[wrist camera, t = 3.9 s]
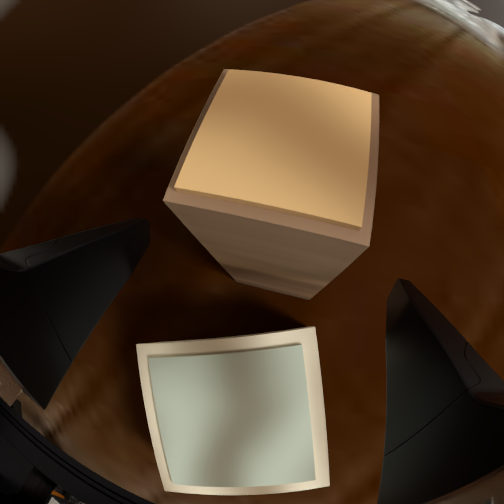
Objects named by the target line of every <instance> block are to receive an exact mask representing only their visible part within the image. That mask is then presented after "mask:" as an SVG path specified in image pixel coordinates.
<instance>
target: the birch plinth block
mask: <svg viewBox="0 0 504 504" xmlns="http://www.w3.org/2000/svg"><path fill="white" fill-rule="evenodd" d="M136 347H137V356H138V365H139V372H140V379H141V386H142V393H143V399H144V405H145V410H146V416H147V421H148V426H149V431H150V435H151V440H152V444H153V448H154V453H155V457H156V461H157V465H158V468H159V472H160V476H161V479H162V483H163V486H164V490H165V491H172V492H181V493H192V494H207V495H257V494H272V493H284V492H293V491H301V490H308V489H314V488H320V487H326V486H330V483H329V464H328V448H327V434H326V422H325V410H324V400H323V390H322V380H321V371H320V362H319V354H318V346H317V338H316V331H315V327H302V328H295V329H288V330H281V331H274V332H266V333H258V334H250V335H241V336H232V337H222V338H210V339H198V340H184V341H167V342H155V343H143V344H136Z"/></svg>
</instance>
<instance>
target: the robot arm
mask: <svg viewBox="0 0 504 504" xmlns="http://www.w3.org/2000/svg"><path fill="white" fill-rule="evenodd" d="M149 244H150V228H149V221H148V220H147V219H143V218H134V219H130V220H126V221H122V222H117V223H113V224H109V225H105V226H102V227H98V228H94V229H90V230H86V231H83V232H79V233H75V234H72V235H68V236H64V237H61V238H59V239H58V238H57V239H54V240H50V241H47V242H43V243H40V244H36V245H32V246H28V247H25V248H21V249H17V250H13V251H9V252H5V253H1V254H0V504H154V503H152V502H150V501H148V500H145V499H143V498H141V497H139V496H137V495H135V494H133V493H131V492H129V491H127V490H125V489H123V488H121V487H119V486H117V485H115V484H114V483H112V482H110V481H108V480H107V479H105V478H103V477H101V476H100V475H98V474H96V473H95V472H93V471H91V470H90V469H88V468H87V467H85V466H84V465H82V464H81V463H79V462H78V461H76V460H75V459H73V458H72V457H70V456H69V455H67V454H66V453H65V452H63V451H62V450H61V449H59V448H58V447H57V446H55V445H54V444H53V443H51V442H50V441H49V440H48V439H46V438H45V437H44V436H43V435H41V434H40V433H39V432H38V431H37V430H35V429H34V428H33V427H32V426H31V425H30V424H29V423H27V422H26V421H25V420H24V419H23V418H22V412H21V403H20V402H19V401H18V400H17V398H18V396H19V395H20V394H21V392H23V393H25V394H26V395H27V396H28V397H29V398H30V399H31V400H33V401H34V402H35V403H36V404H37V405H39V406H40V407H41V408H42V409H44V410H45V408H46V407H47V405H48V404H49V402H50V400H51V398H52V396H53V395H54V393H55V391H56V389H57V387H58V386H59V384H60V382H61V380H62V379H63V377H64V375H65V374H66V372H67V370H68V369H69V367H70V365H71V364H72V363H71V362H73V360H74V359H75V357H76V355H77V354H78V352H79V350H80V349H81V347H82V346H83V344H84V343H85V341H86V339H87V338H88V336H89V335H90V333H91V332H92V330H93V329H94V327H95V326H96V324H97V323H98V321H99V320H100V318H101V317H102V315H103V314H104V312H105V311H106V310H107V308H108V307H109V305H110V304H111V302H112V301H113V299H114V298H115V297H116V295H117V294H118V292H119V291H120V290H121V288H122V287H123V285H124V284H125V283H126V281H127V280H128V279H129V277H130V276H131V274H132V273H133V271H134V269H135V268H136V266H137V264H138V263H139V261H140V259H141V258H142V256H143V254H144V253H145V251H146V249H147V248H148V246H149ZM386 366H387V409H386V432H385V446H384V458H383V466H382V475H381V482H380V489H379V496H378V502H377V504H504V381H503V380H502V379H501V378H500V377H499V376H498V375H497V373H496V372H495V371H494V370H493V369H492V368H491V367H490V366H489V365H488V364H487V363H486V362H485V361H484V360H483V358H482V357H481V356H480V355H479V354H478V353H477V352H476V351H475V350H474V348H473V347H472V346H471V345H470V344H469V343H468V342H466V339H465V338H464V337H463V336H462V335H461V334H460V333H459V332H458V331H457V329H456V328H455V327H454V326H453V325H452V324H451V323H450V322H449V321H448V320H447V319H446V318H445V317H444V316H443V314H442V313H441V312H440V311H439V310H438V309H437V308H436V307H435V306H434V305H433V304H432V303H431V302H430V301H429V300H428V299H427V298H426V297H425V296H424V295H423V294H422V293H421V292H420V291H419V290H418V289H417V288H416V287H415V286H414V285H413V284H412V283H411V282H410V281H408V280H404V279H398V280H397V281H396V283H395V285H394V287H393V289H392V291H391V293H390V295H389V297H388V301H387V320H386ZM52 491H55V492H57V493H59V494H61V495H63V496H64V499H63V498H61V497H58V496H56V495H53V494H51V493H52Z"/></svg>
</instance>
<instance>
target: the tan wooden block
mask: <svg viewBox="0 0 504 504" xmlns="http://www.w3.org/2000/svg"><path fill="white" fill-rule="evenodd" d="M378 146H379V95H377V94H374V93H370V92H367V91H363V90H359V89H355V88H351V87H347V86H343V85H339V84H334V83H330V82H325V81H320V80H314V79H309V78H303V77H297V76H290V75H283V74H276V73H267V72H257V71H246V70H231V69H224V70H223V72H222V74H221V76H220V78H219V79H218V81H217V83H216V85H215V87H214V89H213V91H212V93H211V95H210V96H209V98H208V100H207V102H206V104H205V106H204V108H203V110H202V112H201V114H200V116H199V118H198V120H197V123H196V125H195V127H194V129H193V131H192V133H191V135H190V137H189V140H188V142H187V144H186V146H185V148H184V151H183V153H182V155H181V157H180V160H179V162H178V164H177V167H176V169H175V171H174V174H173V176H172V179H171V181H170V184H169V186H168V189H167V191H166V194H165V196H164V199H163V201H164V203H165V204H166V205H167V206H168V207H169V208H170V209H171V210H172V212H173V213H174V214H175V215H176V216H177V217H178V218H179V219H180V221H181V222H182V223H183V224H184V225H185V226H186V227H187V228H188V229H189V231H190V232H191V233H192V234H193V235H194V236H195V237H196V238H197V239H198V240H199V242H200V243H201V244H202V245H203V246H204V247H205V248H206V249H207V250H208V251H209V253H210V254H211V255H212V256H213V257H214V258H215V259H216V260H217V261H218V262H219V263H220V264H221V266H222V267H223V268H224V269H225V270H226V271H227V272H228V273H229V274H230V275H231V276H232V277H233V278H234V279H235V281H236V282H239V283H243V284H247V285H251V286H255V287H258V288H262V289H266V290H270V291H275V292H279V293H283V294H287V295H291V296H295V297H299V298H303V299H308V300H310V299H311V298H312V297H313V296H314V295H316V294H317V293H318V292H319V291H320V290H321V289H323V288H324V287H325V286H326V285H327V284H328V283H329V282H331V281H332V280H333V279H334V278H335V277H336V276H337V275H339V274H340V273H341V272H342V271H343V270H344V269H345V268H346V267H347V266H349V265H350V264H351V263H352V262H353V261H354V260H355V259H356V258H357V257H358V256H359V255H361V254H362V253H363V252H364V251H365V250H366V249H367V248H368V247H369V244H370V237H371V230H372V222H373V213H374V203H375V193H376V181H377V166H378Z"/></svg>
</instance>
